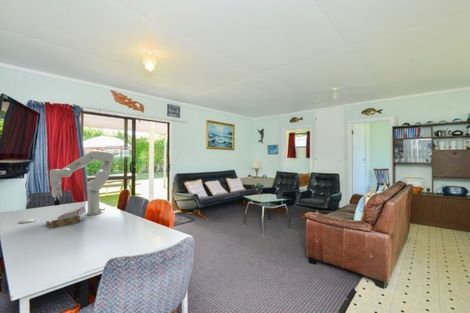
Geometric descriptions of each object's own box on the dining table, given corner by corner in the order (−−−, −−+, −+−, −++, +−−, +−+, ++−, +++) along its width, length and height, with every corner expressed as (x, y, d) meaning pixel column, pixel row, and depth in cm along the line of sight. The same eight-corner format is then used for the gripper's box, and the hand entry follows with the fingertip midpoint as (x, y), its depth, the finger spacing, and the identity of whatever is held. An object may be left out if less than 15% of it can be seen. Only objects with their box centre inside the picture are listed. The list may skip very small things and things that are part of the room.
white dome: (33, 219, 195) (33, 217, 195) (37, 221, 189) (37, 219, 189) (18, 221, 187) (18, 220, 187) (20, 224, 181) (20, 222, 181)
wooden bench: (73, 219, 195) (73, 213, 195) (79, 222, 186) (79, 216, 186) (46, 224, 180) (46, 218, 180) (51, 227, 172) (51, 220, 172)
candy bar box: (65, 212, 195) (84, 206, 197) (67, 218, 196) (86, 211, 197) (56, 217, 184) (76, 210, 185) (58, 222, 185) (79, 215, 186)
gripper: (64, 183, 194) (65, 205, 194) (58, 182, 203) (59, 203, 203) (53, 184, 188) (54, 207, 188) (47, 183, 197) (48, 204, 197)
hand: (57, 205), depth 196 cm, fingers closed
